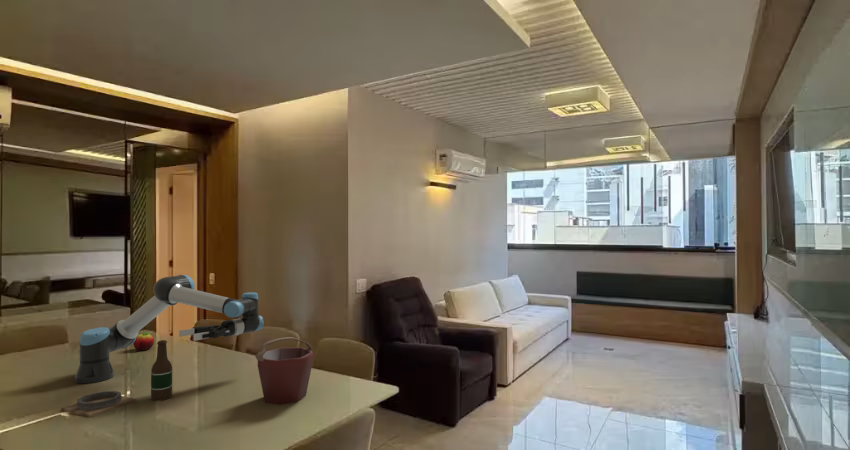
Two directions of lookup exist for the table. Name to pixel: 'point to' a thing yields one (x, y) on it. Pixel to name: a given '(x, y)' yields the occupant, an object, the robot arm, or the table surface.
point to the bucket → (284, 372)
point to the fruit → (143, 342)
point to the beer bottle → (161, 374)
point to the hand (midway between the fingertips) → (186, 335)
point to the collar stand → (98, 403)
